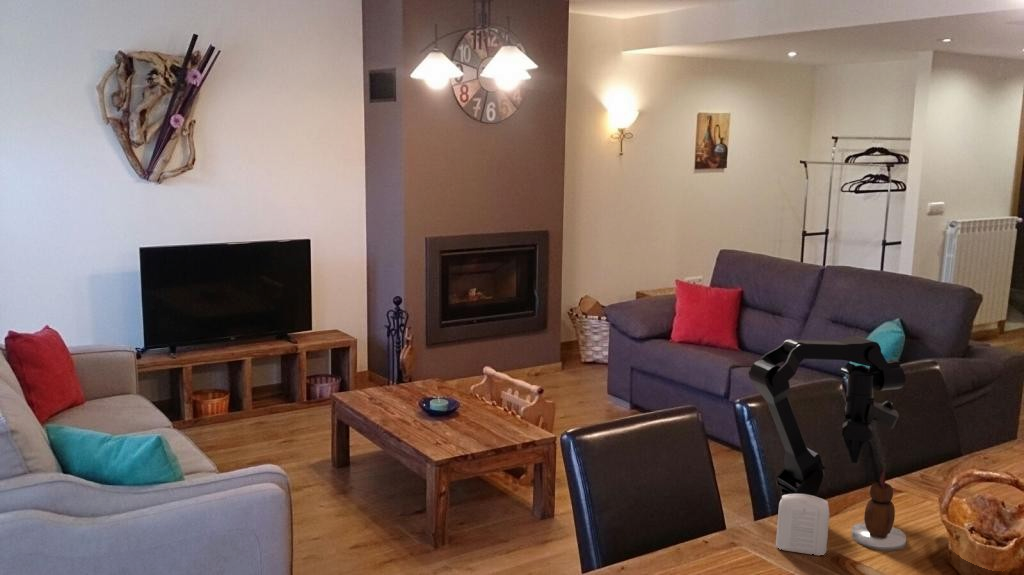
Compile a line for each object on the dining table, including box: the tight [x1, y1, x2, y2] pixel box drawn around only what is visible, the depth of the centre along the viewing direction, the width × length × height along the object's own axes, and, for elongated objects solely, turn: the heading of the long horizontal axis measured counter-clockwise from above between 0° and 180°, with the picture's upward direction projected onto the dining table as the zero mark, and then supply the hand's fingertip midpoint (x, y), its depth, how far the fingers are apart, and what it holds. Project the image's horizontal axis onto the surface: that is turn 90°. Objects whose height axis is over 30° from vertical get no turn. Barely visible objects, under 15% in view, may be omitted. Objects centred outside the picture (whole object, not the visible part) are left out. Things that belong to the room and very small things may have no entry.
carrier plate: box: [851, 521, 907, 552], centre depth 197 cm, size 11×11×2 cm
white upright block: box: [775, 494, 830, 556], centre depth 190 cm, size 10×4×12 cm, turn 73°
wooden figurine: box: [863, 469, 896, 536], centre depth 195 cm, size 7×6×15 cm
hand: (855, 456), depth 210 cm, fingers open, 9 cm apart
